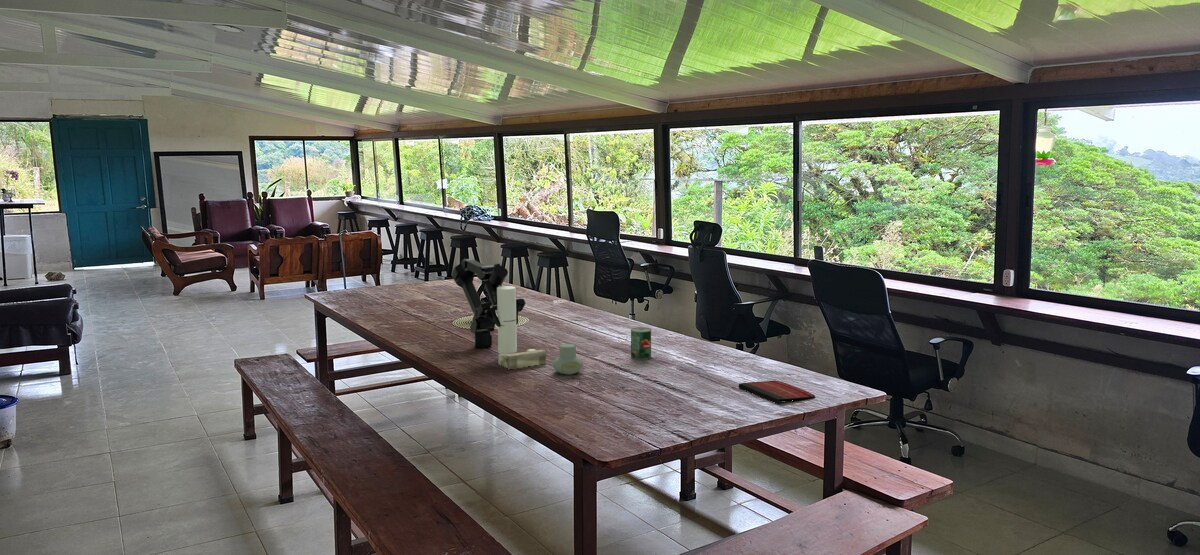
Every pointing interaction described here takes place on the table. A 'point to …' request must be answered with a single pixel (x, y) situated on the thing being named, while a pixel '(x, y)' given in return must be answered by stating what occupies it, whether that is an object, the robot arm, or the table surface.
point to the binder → (776, 391)
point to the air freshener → (567, 360)
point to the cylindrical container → (507, 319)
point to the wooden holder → (522, 359)
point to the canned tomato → (640, 343)
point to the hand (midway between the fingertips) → (508, 325)
